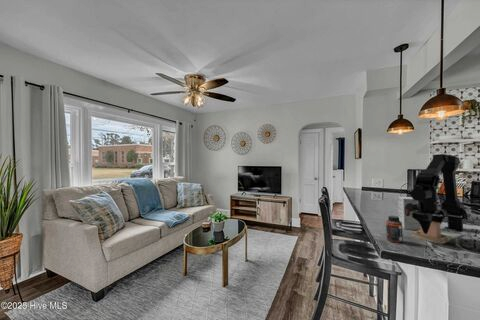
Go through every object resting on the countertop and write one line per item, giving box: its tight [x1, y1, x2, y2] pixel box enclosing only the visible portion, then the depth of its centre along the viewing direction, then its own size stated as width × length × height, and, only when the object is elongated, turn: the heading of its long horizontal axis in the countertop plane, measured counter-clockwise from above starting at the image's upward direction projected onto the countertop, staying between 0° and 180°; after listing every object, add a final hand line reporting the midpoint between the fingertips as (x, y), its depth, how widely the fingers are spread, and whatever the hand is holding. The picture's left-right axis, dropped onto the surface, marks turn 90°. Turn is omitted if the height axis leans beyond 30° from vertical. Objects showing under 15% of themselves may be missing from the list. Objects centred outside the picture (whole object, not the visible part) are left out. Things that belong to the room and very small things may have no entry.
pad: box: [441, 229, 463, 240], centre depth 101 cm, size 10×10×1 cm
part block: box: [420, 221, 442, 238], centre depth 96 cm, size 4×6×8 cm, turn 25°
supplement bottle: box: [385, 215, 404, 244], centre depth 94 cm, size 6×6×11 cm
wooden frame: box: [411, 230, 452, 245], centre depth 96 cm, size 9×11×2 cm
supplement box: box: [397, 196, 420, 231], centre depth 113 cm, size 10×9×17 cm
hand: (430, 232), depth 96 cm, fingers open, 9 cm apart
